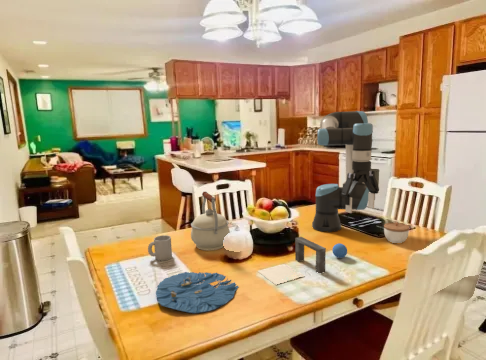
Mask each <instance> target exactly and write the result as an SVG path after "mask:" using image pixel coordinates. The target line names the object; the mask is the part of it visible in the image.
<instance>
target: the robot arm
mask: <svg viewBox="0 0 486 360" xmlns="http://www.w3.org/2000/svg"><path fill="white" fill-rule="evenodd" d="M319 127H320V128H318V129H317V138H316V139H317V145H319V146H345V181H344V182H343V183H342V186H341V187H340V185H339V184H338V183H326V184H320V185H319V186H317V187H316V190H315V214H314V217H313V220H312V224H311V228H312V227H313V228H314V229H313V228H312V229H313V230H315V229H316V231H318V230H319V231H318V232H323V231H328V232H327V233H331V232H332V231H334V232H338V230H339V231H340V230H341V229H342V223H341V219H340V217H339V210H345V212H346V213H349V214H352V212H353V210H354V211H362V210H363V211H364V210H366V209H367V208H368V209H372V210H373V209H375V200H376V195H377V194H379V191H380V187H379V186H378V182H377V178H376V173H375V170H372V161H371V160H372V149H373V147H372V145H373V133H374V131H373V124H372V123H369V119H368V115H367V113H366V112H365V111H362V110H361V111H360V110H359V111H358V110H355V111H354V110H353V111H334V112H331V113H329V114H327V115H325V116H323V117H322V119H321V120H320V122H319ZM332 233H333V232H332Z"/></svg>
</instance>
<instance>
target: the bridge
mask: <svg viewBox="0 0 486 360" xmlns="http://www.w3.org/2000/svg"><path fill="white" fill-rule="evenodd" d="M294 239H295V241H294V242H295V243H294V244H295V251H294V252H295V253H294V255H295V261H296V262H302V260H303V261H305V247H307V248H309V249H311V250H313V251H315V273H317V272H318V273H321V274H324V273H326V251H327V249H326V247H324V246H322V245H320V244H318V243H315V242H313V241H311V240H309V239H307V238H305V237H303V236H298V237H295V238H294ZM323 272H324V273H323ZM318 273H317V274H318Z"/></svg>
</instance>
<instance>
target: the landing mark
mask: <svg viewBox="0 0 486 360" xmlns="http://www.w3.org/2000/svg"><path fill="white" fill-rule="evenodd" d="M293 270H294V272H293ZM295 270H296V269H294V268H293V267H292V266H289V265H288V264H287V263H283V264H279V265H275V266H271V267H267V268H264V269H259V270H257V273H259V275H261V276H263V277H264V278H265V279H267V280H268V281H270V282H271V283H272V284H274V285H275V286H278V285H281V284H280V283H282V284H285V283H288V282H287V280H286V277H289V276H290V277H292V276H291V275H293V274H294V273H295ZM290 271H291V272H290ZM292 272H293V273H292ZM296 274H297V272H296V273H295V274H294V275H296ZM287 275H288V276H287ZM297 275H299V276H300V275H301V276H300V277H302V278H305V277H304V276H305V275H304V274H302V272H299V274H297ZM285 276H286V277H285ZM299 276H298V277H299ZM290 277H289V280H290ZM294 277H295V276H294ZM284 278H285V280H284ZM282 279H283V280H282ZM292 281H295V280H294V279H293V280H292ZM284 282H285V283H284ZM277 284H278V285H277Z"/></svg>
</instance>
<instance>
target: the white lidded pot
mask: <svg viewBox="0 0 486 360" xmlns="http://www.w3.org/2000/svg"><path fill="white" fill-rule="evenodd" d="M383 227H384V228H383V233H384V237H385V238H386V239H387V241H388V242H389V241H390V242H392V243H391V244H393V243H402V242H403V243H404V242H405V241H406V240H407V239H408V237H409V232H410V226H409V225H407V224H404V223H400V222H397V221H396V222H387V223H386V222H385V224H383ZM390 242H389V243H390ZM403 243H402V244H403Z"/></svg>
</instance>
